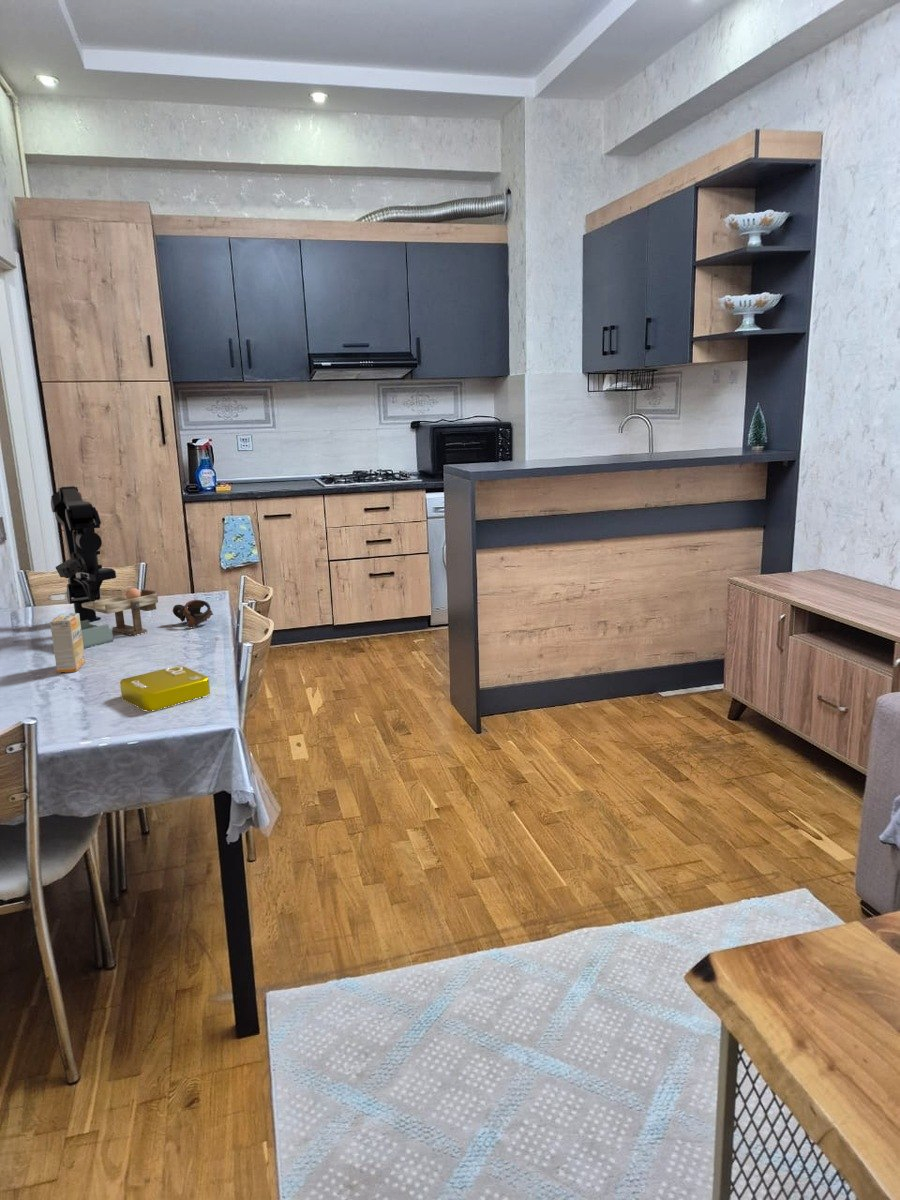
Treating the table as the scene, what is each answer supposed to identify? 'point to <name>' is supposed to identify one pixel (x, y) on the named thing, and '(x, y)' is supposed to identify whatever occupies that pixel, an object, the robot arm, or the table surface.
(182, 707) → the table surface
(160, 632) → the table surface
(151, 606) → the tipping lever
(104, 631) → the bin
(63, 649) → the supplement box
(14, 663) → the table surface
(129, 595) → the ball
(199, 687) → the element tile
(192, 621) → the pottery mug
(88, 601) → the robot arm
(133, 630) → the lever stand
